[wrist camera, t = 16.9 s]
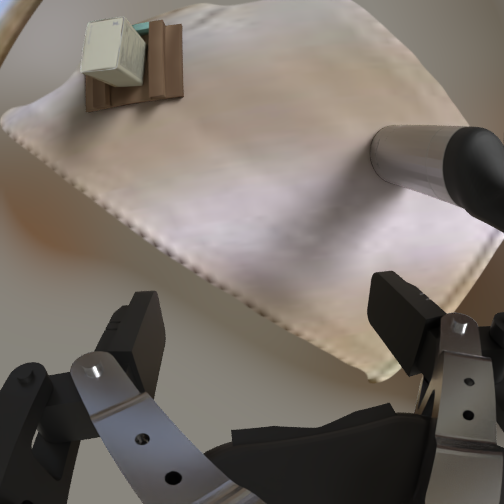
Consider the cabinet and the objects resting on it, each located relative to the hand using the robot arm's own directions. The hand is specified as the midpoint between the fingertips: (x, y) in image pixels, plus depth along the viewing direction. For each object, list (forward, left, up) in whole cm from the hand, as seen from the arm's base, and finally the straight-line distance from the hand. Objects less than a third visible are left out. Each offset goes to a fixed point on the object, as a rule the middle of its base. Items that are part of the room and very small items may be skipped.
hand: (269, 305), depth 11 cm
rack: (+13, -18, -33) cm, 40 cm away
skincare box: (+13, -18, -32) cm, 39 cm away
